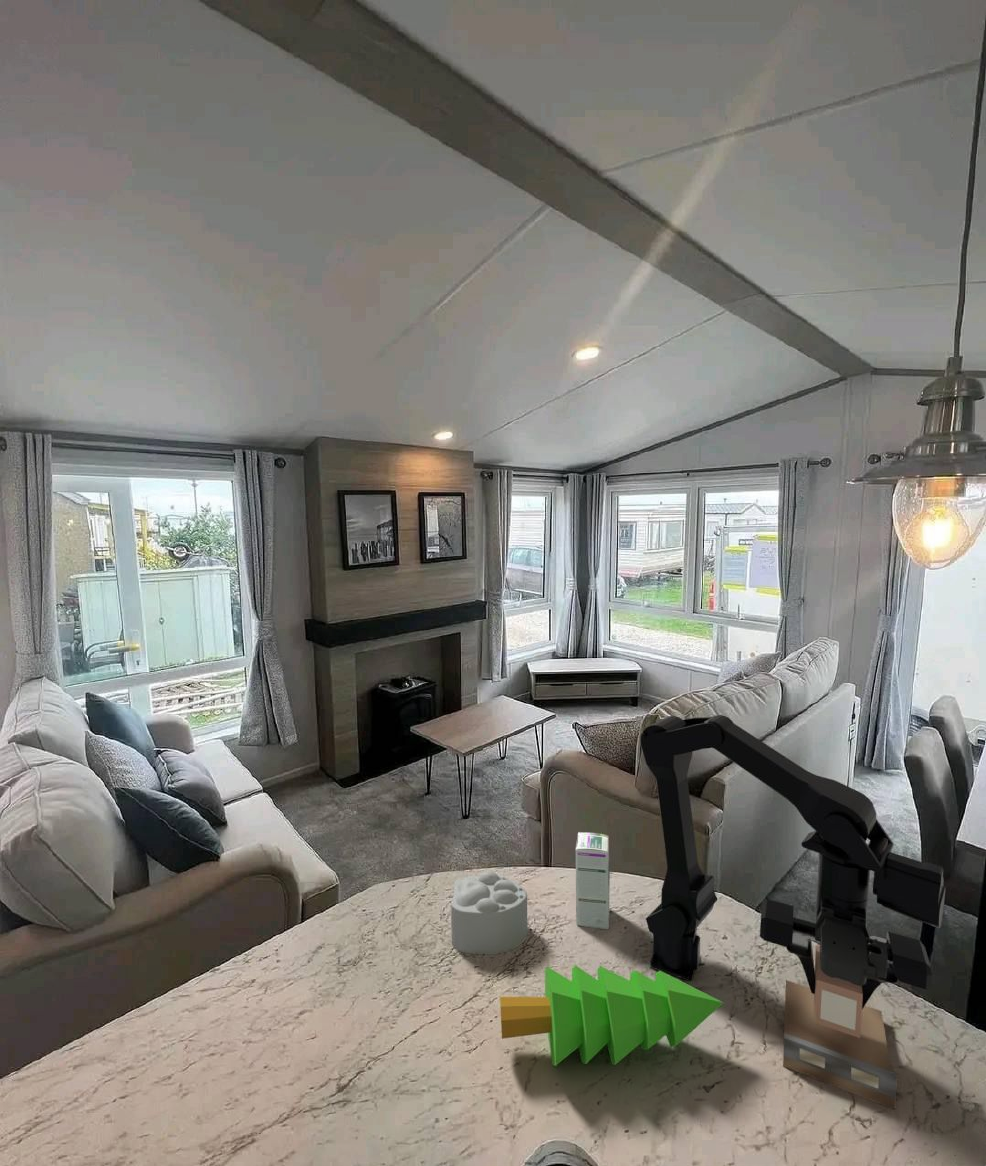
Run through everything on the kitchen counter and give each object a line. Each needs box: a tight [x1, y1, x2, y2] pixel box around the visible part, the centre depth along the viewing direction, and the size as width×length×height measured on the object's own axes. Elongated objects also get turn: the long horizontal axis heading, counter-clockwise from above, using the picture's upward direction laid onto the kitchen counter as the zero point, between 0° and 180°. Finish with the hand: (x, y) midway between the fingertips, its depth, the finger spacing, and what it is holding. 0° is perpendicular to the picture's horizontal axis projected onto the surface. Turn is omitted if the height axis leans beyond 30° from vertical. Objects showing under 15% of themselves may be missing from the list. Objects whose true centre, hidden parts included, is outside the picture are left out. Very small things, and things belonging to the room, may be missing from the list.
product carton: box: [814, 944, 863, 1038], centre depth 76 cm, size 7×5×6 cm
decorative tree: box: [499, 965, 724, 1067], centre depth 77 cm, size 11×12×30 cm
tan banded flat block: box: [782, 979, 898, 1110], centre depth 77 cm, size 12×14×4 cm
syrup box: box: [575, 831, 611, 930], centre depth 102 cm, size 6×6×14 cm
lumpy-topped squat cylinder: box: [450, 870, 528, 955], centre depth 99 cm, size 10×13×9 cm
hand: (836, 999), depth 76 cm, fingers closed on product carton, 5 cm apart
